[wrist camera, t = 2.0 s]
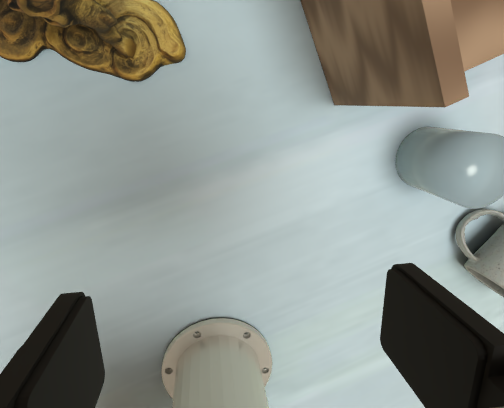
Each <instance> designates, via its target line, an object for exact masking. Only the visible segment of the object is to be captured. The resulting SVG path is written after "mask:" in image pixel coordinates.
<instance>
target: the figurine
mask: <svg viewBox="0 0 504 408" xmlns="http://www.w3.org/2000/svg"><path fill="white" fill-rule="evenodd" d="M43 49H51V50H54V51H56V52H57V53H59V54H60V55H61V56H63V57H64V58H66V59H67V60H69V61H71V62H73V63H75V64H77V65H79V66H81V67H84V68H86V69H89V70H93V71H97V72H101V73H106V74H110V75H113V76H116V77H119V78H122V79H125V80H129V81H142V80H145V79H147V78H149V77H150V76H151V75H152V74H154V73H155V72H156V71H157V70H158V69H159V68H160V67H162V66H164V65H168V64H173V63H179V62H181V61H182V60H183V59H184V57H185V53H186V49H185V45H184V42H183V39H182V37H181V34H180V31H179V29H178V27H177V24H176V23H175V21H174V19H173V18H172V16H171V15H170V14H169V12H168V11H167V10H166V9H165V8H164V7H163V6H162V5H160V4H159V3H158V2H156V1H154V0H0V56H1V57H2V58H4V59H7V60H10V61H15V62H26V61H30V60H32V59H33V58H35V57H36V56H37V55H38V54H39V53H40V52H41V51H42V50H43Z"/></svg>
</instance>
